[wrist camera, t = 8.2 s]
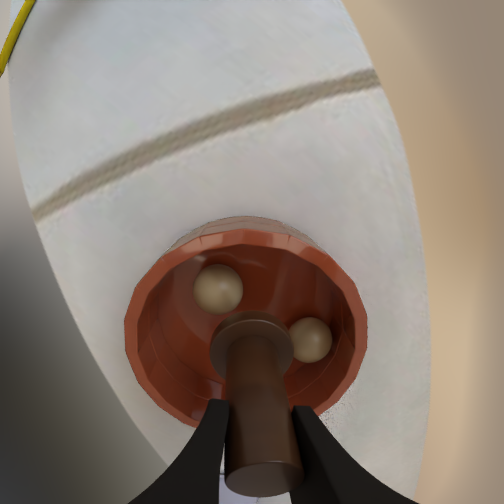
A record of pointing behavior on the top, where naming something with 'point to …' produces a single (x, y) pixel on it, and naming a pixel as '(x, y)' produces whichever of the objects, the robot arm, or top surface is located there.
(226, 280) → the bead
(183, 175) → the top surface
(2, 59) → the pencil
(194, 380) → the bowl
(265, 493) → the pestle
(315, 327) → the bead
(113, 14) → the top surface
